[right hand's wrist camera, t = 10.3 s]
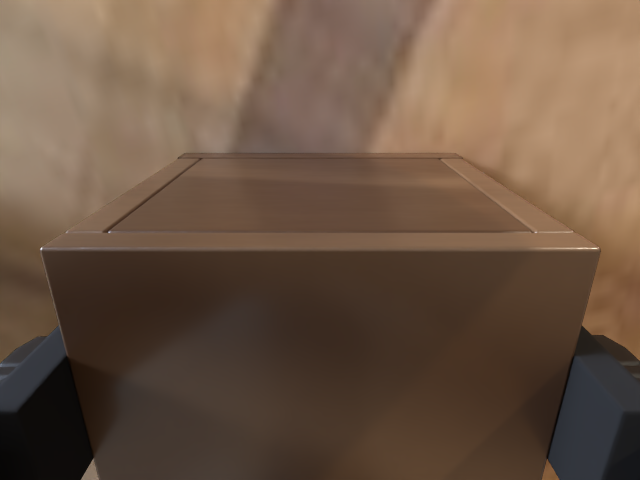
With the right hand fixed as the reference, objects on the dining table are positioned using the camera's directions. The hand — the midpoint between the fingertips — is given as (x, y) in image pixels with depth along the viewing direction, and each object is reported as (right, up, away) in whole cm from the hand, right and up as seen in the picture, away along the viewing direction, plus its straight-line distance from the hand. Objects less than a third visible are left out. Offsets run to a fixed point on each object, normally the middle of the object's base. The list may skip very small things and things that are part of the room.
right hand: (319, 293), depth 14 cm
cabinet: (0, -3, +5) cm, 6 cm away
